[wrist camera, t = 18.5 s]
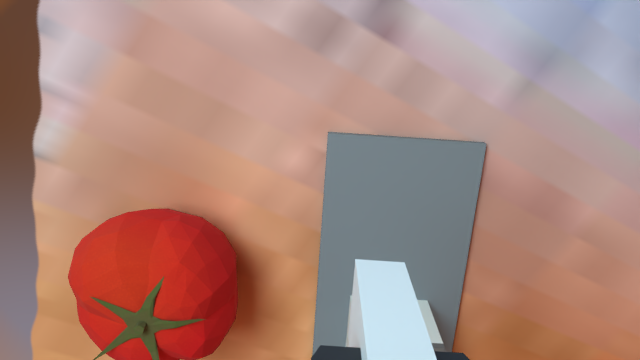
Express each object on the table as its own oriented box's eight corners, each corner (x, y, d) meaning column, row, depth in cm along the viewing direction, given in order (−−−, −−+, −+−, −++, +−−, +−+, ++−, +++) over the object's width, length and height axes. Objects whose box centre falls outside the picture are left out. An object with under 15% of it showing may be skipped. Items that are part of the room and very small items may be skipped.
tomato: (202, 339, 46) (162, 435, 35) (82, 257, 44) (-1, 332, 33) (280, 249, 43) (264, 322, 32) (156, 156, 41) (93, 201, 30)
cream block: (432, 422, 39) (417, 365, 46) (445, 348, 37) (427, 300, 44) (346, 416, 39) (344, 360, 46) (354, 342, 37) (350, 295, 44)
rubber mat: (484, 142, 40) (486, 143, 40) (438, 416, 48) (440, 421, 48) (328, 131, 40) (328, 133, 40) (308, 408, 48) (308, 412, 48)
